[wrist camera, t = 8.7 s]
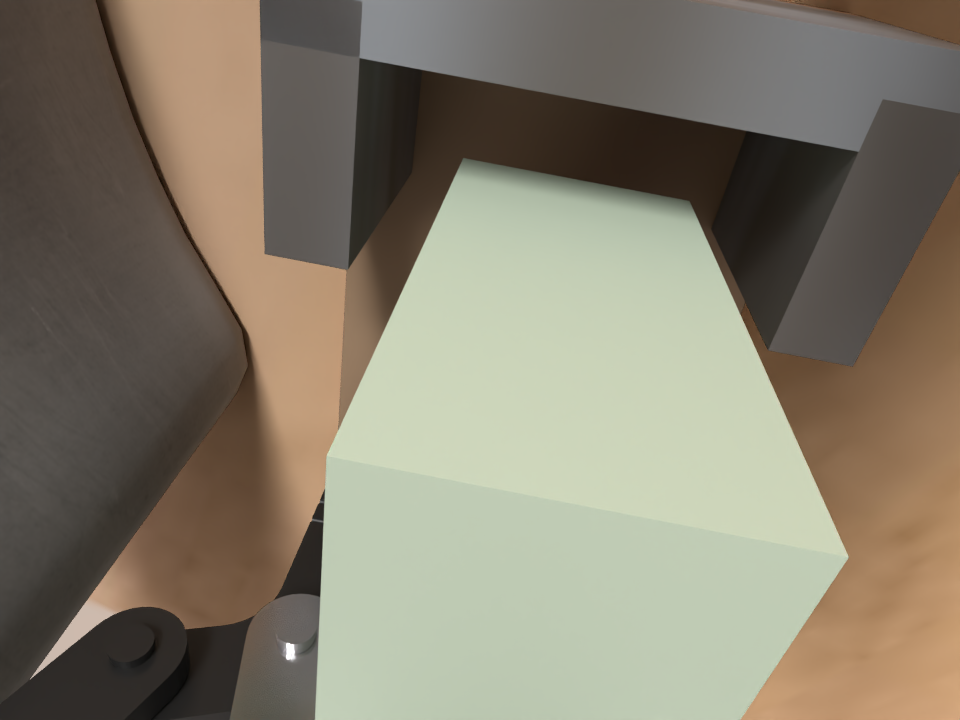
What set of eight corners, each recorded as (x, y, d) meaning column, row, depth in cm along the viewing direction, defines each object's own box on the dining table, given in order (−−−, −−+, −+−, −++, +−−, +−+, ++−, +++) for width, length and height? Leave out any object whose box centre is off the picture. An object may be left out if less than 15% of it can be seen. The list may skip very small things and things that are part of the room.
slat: (689, 200, 10) (848, 556, 4) (533, 663, 17) (514, 1056, 11) (463, 157, 10) (327, 456, 5) (394, 635, 17) (302, 1013, 11)
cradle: (851, 13, 12) (1019, 62, 7) (600, 631, 21) (608, 814, 17) (373, -75, 12) (259, -80, 7) (335, 579, 21) (274, 747, 17)
